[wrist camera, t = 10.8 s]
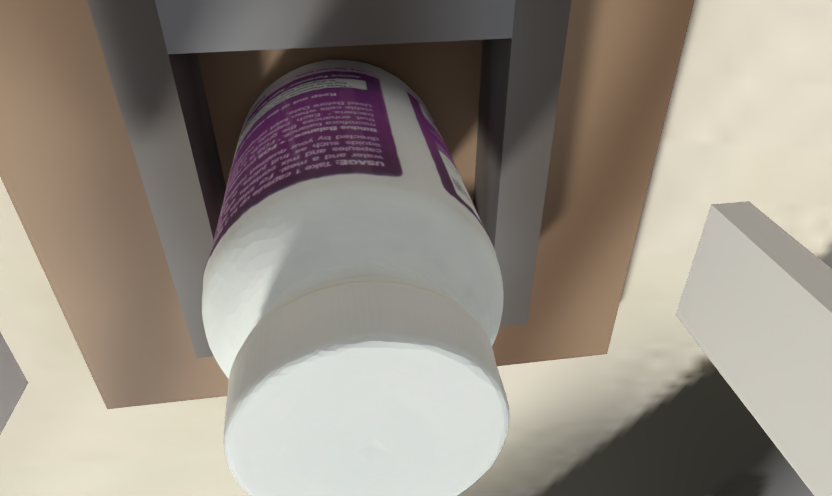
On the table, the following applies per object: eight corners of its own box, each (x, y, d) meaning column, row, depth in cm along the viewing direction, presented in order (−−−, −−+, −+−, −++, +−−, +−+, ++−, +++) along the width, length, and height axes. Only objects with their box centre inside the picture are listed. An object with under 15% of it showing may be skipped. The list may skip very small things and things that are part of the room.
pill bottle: (219, 208, 16) (127, 540, 8) (270, 22, 14) (208, 245, 6) (398, 255, 18) (462, 567, 10) (471, 97, 16) (632, 348, 8)
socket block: (119, 376, 21) (83, 472, 18) (-161, -287, 11) (-361, -343, 8) (591, 327, 23) (636, 405, 20) (722, -273, 13) (857, -313, 10)
